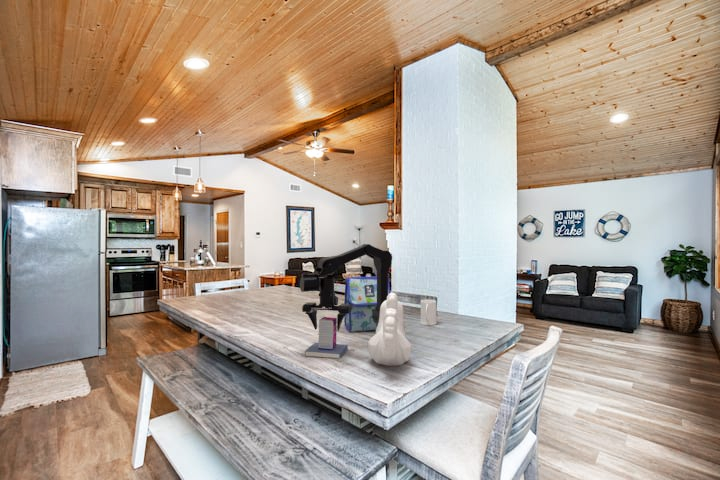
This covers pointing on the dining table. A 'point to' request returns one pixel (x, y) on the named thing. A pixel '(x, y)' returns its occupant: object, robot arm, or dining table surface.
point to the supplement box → (327, 333)
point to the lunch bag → (361, 303)
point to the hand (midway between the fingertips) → (327, 329)
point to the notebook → (327, 351)
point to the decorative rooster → (390, 335)
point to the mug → (428, 312)
